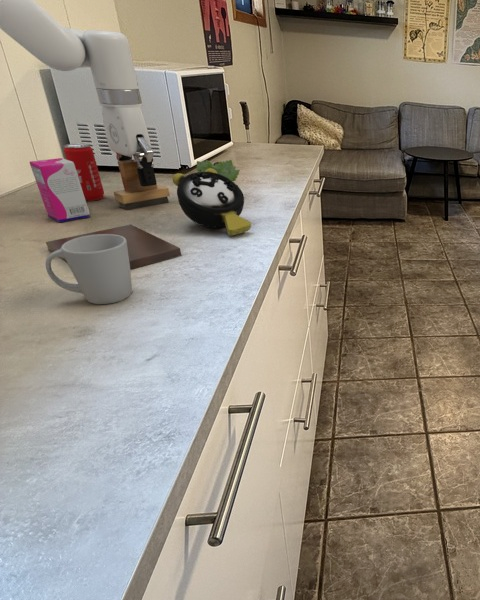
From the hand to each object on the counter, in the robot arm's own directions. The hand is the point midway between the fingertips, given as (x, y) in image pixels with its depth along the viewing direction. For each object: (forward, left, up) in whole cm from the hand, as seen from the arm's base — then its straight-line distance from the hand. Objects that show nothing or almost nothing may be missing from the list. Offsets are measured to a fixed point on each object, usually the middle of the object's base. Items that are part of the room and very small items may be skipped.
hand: (139, 181), depth 107 cm
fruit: (+15, -6, -6) cm, 17 cm away
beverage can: (-6, +12, -5) cm, 14 cm away
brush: (0, 0, -5) cm, 5 cm away
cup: (-26, -41, -5) cm, 49 cm away
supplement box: (-15, +1, -5) cm, 16 cm away
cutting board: (-17, -25, -5) cm, 31 cm away
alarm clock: (+3, -24, -5) cm, 25 cm away
